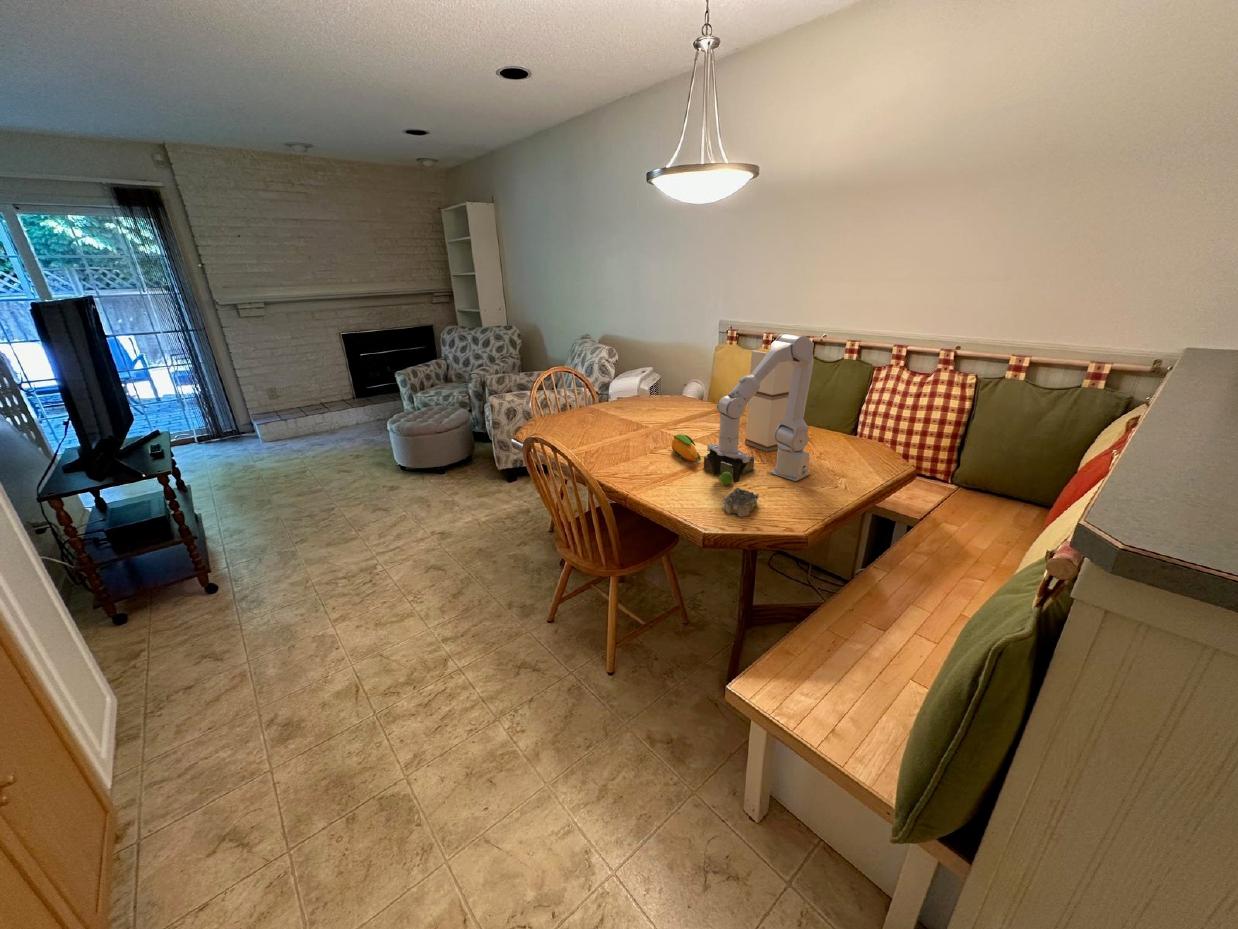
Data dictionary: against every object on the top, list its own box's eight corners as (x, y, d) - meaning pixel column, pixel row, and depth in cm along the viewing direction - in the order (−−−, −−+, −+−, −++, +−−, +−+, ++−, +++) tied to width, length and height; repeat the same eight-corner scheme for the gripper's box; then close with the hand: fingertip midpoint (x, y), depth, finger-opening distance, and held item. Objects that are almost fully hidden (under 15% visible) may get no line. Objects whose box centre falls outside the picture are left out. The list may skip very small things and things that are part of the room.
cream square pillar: (787, 446, 179) (798, 351, 166) (766, 451, 174) (775, 354, 161) (765, 438, 188) (773, 348, 175) (744, 443, 183) (751, 350, 170)
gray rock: (745, 519, 127) (746, 505, 125) (719, 511, 131) (720, 498, 130) (760, 504, 135) (762, 490, 133) (735, 497, 139) (736, 484, 137)
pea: (735, 484, 148) (736, 472, 146) (726, 487, 146) (727, 475, 144) (724, 480, 151) (725, 468, 149) (716, 484, 148) (717, 472, 147)
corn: (685, 428, 177) (707, 445, 159) (686, 447, 180) (708, 466, 162) (667, 431, 176) (686, 448, 158) (668, 450, 179) (687, 470, 161)
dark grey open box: (753, 469, 158) (754, 457, 157) (731, 479, 152) (732, 465, 150) (725, 460, 167) (726, 448, 165) (703, 469, 160) (704, 456, 158)
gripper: (701, 433, 145) (699, 474, 150) (740, 445, 135) (737, 488, 140) (716, 429, 150) (714, 469, 154) (755, 439, 139) (751, 482, 144)
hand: (726, 478), depth 147 cm, fingers open, 7 cm apart
